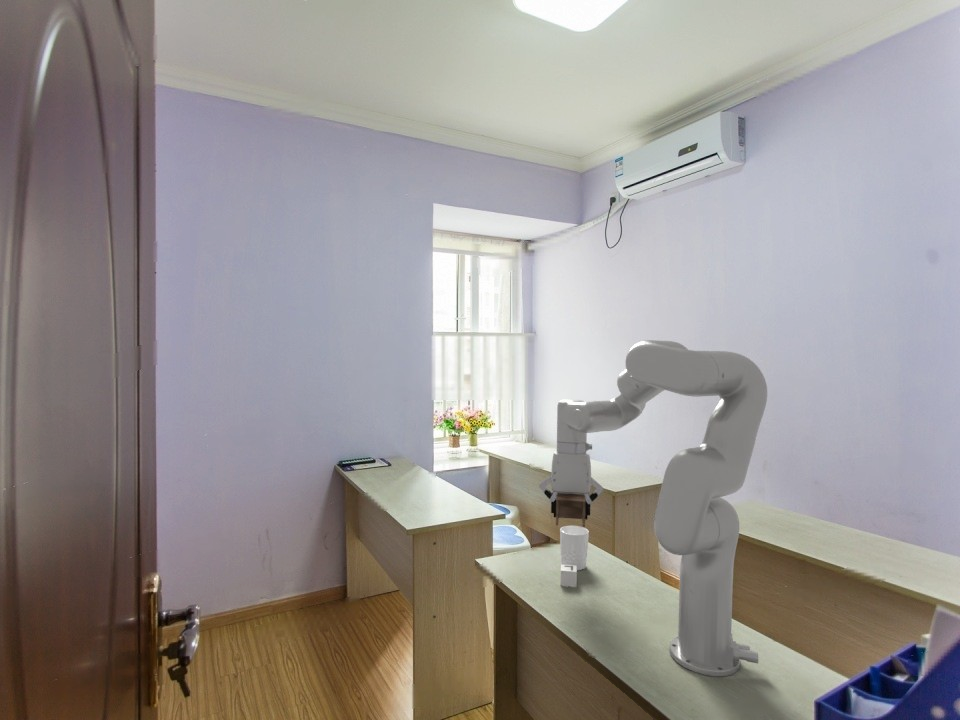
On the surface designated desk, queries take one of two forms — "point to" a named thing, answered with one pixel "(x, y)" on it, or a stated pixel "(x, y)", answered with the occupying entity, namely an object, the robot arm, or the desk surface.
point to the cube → (568, 575)
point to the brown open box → (570, 506)
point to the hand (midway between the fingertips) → (570, 516)
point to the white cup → (574, 546)
